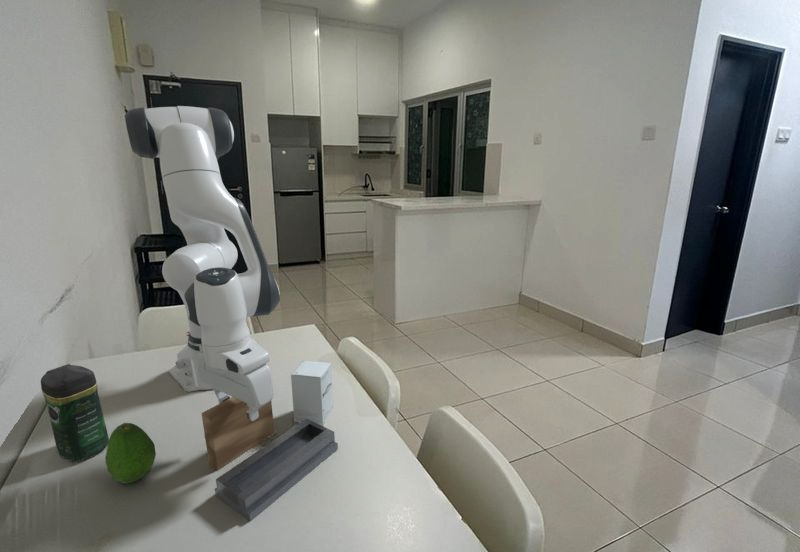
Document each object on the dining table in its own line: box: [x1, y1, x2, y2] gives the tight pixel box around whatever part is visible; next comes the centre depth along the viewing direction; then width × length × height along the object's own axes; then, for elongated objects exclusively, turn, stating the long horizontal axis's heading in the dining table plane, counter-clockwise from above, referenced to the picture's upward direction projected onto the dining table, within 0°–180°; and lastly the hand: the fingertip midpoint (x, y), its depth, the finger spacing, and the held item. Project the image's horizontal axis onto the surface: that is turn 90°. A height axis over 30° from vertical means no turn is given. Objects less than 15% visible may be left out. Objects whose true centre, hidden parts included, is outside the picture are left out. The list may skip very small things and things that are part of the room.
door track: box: [214, 419, 339, 522], centre depth 81 cm, size 10×22×4 cm, turn 146°
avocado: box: [104, 422, 157, 484], centre depth 78 cm, size 8×8×12 cm
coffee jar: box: [40, 363, 110, 463], centre depth 86 cm, size 10×8×19 cm
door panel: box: [201, 396, 275, 471], centre depth 87 cm, size 3×14×12 cm, turn 146°
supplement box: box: [290, 360, 334, 426], centre depth 98 cm, size 7×7×13 cm
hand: (238, 411), depth 85 cm, fingers open, 8 cm apart
